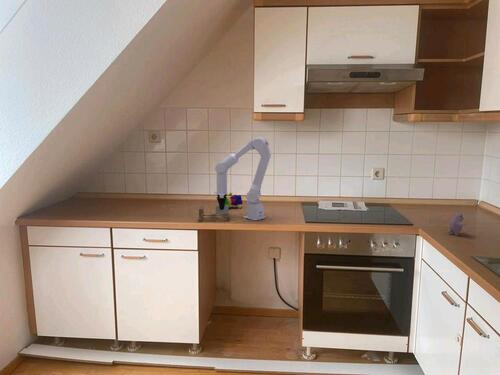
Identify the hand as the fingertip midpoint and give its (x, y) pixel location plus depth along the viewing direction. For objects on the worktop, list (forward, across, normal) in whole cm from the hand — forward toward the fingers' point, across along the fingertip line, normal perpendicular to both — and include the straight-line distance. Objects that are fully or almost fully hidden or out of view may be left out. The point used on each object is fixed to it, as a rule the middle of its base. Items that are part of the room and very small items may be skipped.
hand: (221, 208), depth 208 cm
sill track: (+4, +8, -4) cm, 10 cm away
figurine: (+4, +42, +109) cm, 117 cm away
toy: (+5, -19, +5) cm, 21 cm away
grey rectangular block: (+4, 0, 0) cm, 5 cm away
